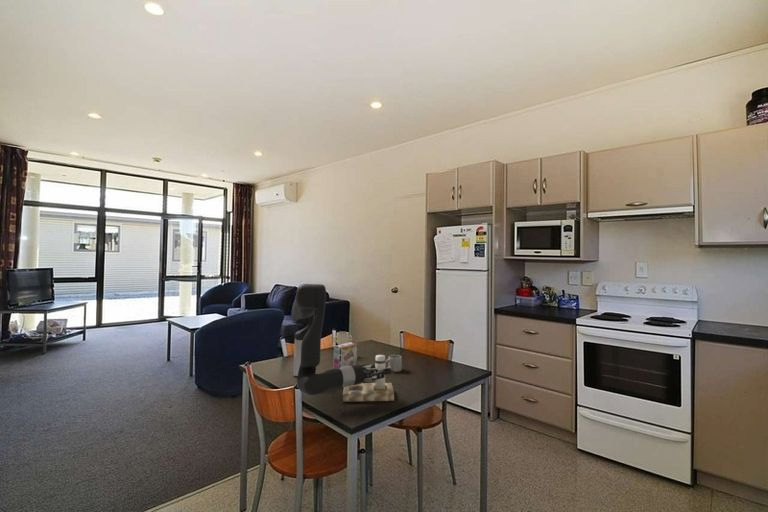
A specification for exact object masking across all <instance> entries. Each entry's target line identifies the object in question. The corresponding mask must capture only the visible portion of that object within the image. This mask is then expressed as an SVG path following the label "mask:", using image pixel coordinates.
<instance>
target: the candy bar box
mask: <svg viewBox="0 0 768 512" xmlns="http://www.w3.org/2000/svg"><path fill="white" fill-rule="evenodd" d="M332 353H333V355H332V356H333V357H332V363H333V364H332V369H336V368H340V367H344V366H349V365H355V364H358V343H355V342H352V341H349V343H345V344H340V345H338V344H337V345H334V346H333V352H332Z"/></svg>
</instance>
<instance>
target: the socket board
mask: <svg viewBox="0 0 768 512" xmlns="http://www.w3.org/2000/svg"><path fill="white" fill-rule="evenodd" d="M390 401H391V402H392V401H393V402H394V401H395V391H394V388H393V384H392V382H385V390H375V382H363V383H361V384H357V385H352V386H348V387H343V390H342V402H343V403H344V402H345V403H346V402H348V403H349V402H390Z"/></svg>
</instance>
